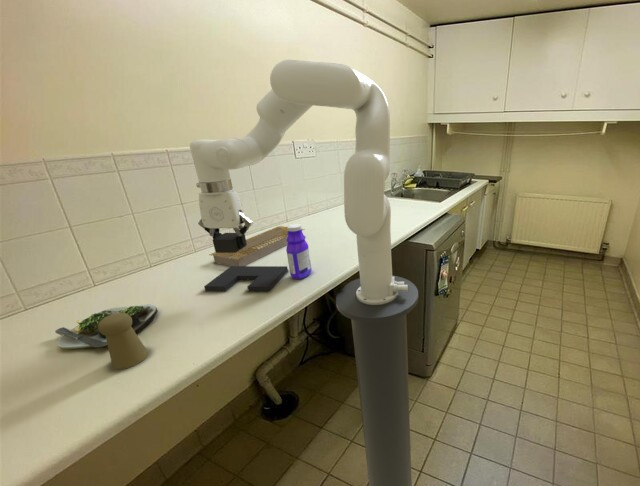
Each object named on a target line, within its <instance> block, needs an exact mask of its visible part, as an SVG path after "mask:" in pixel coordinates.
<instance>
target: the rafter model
mask: <svg viewBox="0 0 640 486" xmlns="http://www.w3.org/2000/svg"><path fill="white" fill-rule="evenodd" d="M287 227H288V226H284V225H283V226H282V225H277V227H274V228H271V229H268V230H267V231H264V232H261V233H259V234H256V235H253V236H252V237H249V238H246V243H247V245H246V246H245V247H244V248H242V249H241V250H239V251H238V252H236V253H216V252H215V251H214V252H212V253H209V254H208V256H211V257H213V261H214V263H215V264H220V265H223V266H229V267H231V266H248V265H249V264H251V263H253V262H255V261H257V260H259V259H261V258H263V257H265V256H267V255H269V254H272V253H274V252H275V251H277V250H279V249H282V248H283V247H285V246H286V247H287V244H288V242H287V238H288V228H287ZM302 231H305V228H302Z"/></svg>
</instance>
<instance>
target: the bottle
mask: <svg viewBox="0 0 640 486" xmlns="http://www.w3.org/2000/svg"><path fill="white" fill-rule="evenodd" d="M286 227H287V228H288V235H287V236H288V238H287V242H288V244H287V245H286V249H285V250H286V257H287V263H288V270H289V274H290V277H291V278H293V279H296V280H297V279H298V280H300V279H305V278H306V277H308V276H309V275H310V274H311V273H312V263H311V262H312V261H311V256H310V248H309V244H308V242H307V240H306V236H305V235H304V233H303V228H302V225H301V224H299V223H293V224H292V223H291V224H289V225H287V226H286Z"/></svg>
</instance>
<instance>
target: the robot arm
mask: <svg viewBox="0 0 640 486" xmlns="http://www.w3.org/2000/svg"><path fill="white" fill-rule="evenodd" d="M269 82H270V87H271V89H270V90H269V91H268V92H266V94H265V95H264V96H263V97H262V98H261V99H260V100H259V101H258V103H256V105H255V106H256V112H257V115H258V117H259V119H258V121H257V123H256V124H255V126H254V127H253V128H252V129H250V131H249V132H248V133H247V134H246V135H244V136H243V137H232V138H224V139H214V138H213V139H211V138H210V139H208V138H207V139H195V140H192V141H191V142H190V143H189V150H190V154H191V157H192V160H193V161H192V162H193V164H194V169H195V172H196V176H197V179H198V182H197V183H196V187H197V188H198V189H200V191H201V192H199V193H198V206H199V212H200V216H201V218H200V220H199V221H198V226H199V227H201V228H202V229H203V230H204V231H205V232H207V233H208V234H209V236H210V237H212V240H213V239H215V238H217V237H218V236H220V235H222V234H223V233H221V232H220V230H221V229H233V231H234V233H236V234H237V236H236V240H237V244H238V248H239V249H242V248H244V247H245V246H246V240H247V238H246V234H247V231H248V230H249V229H250V228H251V226H252V225H253V224H254V221H253V220H251V218H249V217H248V216H247V215H246V214H245V213H244V209H243V206H242V202H241V199H240V196H239V195H238V193H237V191H236V190H235V189H234V186H233V182H232V178H231V173H230V170H239V169H243V168H245V167H246V168H247V167H249V166H254V165H257V164H258V163H261V161H263V160H264V159H265V158H267V156H268V155H269V154H271V153H272V152H273V151H274V150H275V149H276V148H277V147H278V145H280V143H281V140H283V138H284V136H285V134H286V132H287V131H288V130H289V129H290V128H291V127H292V126H293V125H294V124H295V123H296V122H297V121H298V120H299V119H300V118H301V117H302V116H303V115H304V114H305V113H307V112H308V111H309V110H310V109H311V108H312V107H313V106H316V107H326V108H337V109H346V110H352V111H354V113H355V117H356V119H355V128H354V129H355V133H354V135H355V151H354V153H353V154H352V155H351V156H350V157H349V158H348V160H347V162H346V164H345V167H344V172H343V201H344V202H343V204H344V205H343V206H344V207H343V208H344V209H343V210H344V211H343V212H344V213H343V214H344V220H345V223H346V225H347V228H349V230H350V231H351V232H352V233H353V234H355V235H356V248H357V249H356V250H357V251H356V252H357V260H358V271H359V278H360V284H361V286H360V287H359V288H358V289H357V291H356V297H357V299H358V300H359V301H360V302H362V303H364V304H368V305H381V304H386V303H388V302H391V301H393V300H394V299H395V298H396V297H397V296H398V291H408V285H404V282H396V281H395V278H394V277H392V276H393V262H392V237H391V235H392V234H391V219H392V218H391V217H392V215H391V213H392V212H391V211H392V210H391V203H390V200H389V198H388V196H387V195H386V194H385V185H386V180H387V179H388V177H389V175H390V170H391V169H390V168H391V167H390V166H391V165H390V149H391V114H390V112H391V111H390V106H389V103H388V102H389V101H388V100H387V97H386V95H385V93H384V91H383V90H382V88H380V86H379V85H378V84H377V83H376V82H375V81H374V80H373V79H370V78H369V77H368V76H366V75H365V74H363V73H362V72H360V71H359V70H356V69H354V68H353V67H351V66H349V65H347V64H342V63H336V62H324V61H323V62H322V61H310V60H300V59H299V60H298V59H284V60H281V61H279V62H278V63H276V64H275V65H274V66H273V68H272V69H271V72H270V77H269ZM243 224H244V225H243Z"/></svg>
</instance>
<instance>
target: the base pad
mask: <svg viewBox="0 0 640 486" xmlns="http://www.w3.org/2000/svg"><path fill="white" fill-rule="evenodd" d="M287 273H289V267H288V266H287V265H285V266H281V265H279V266H278V265H275V266H273V265H269V266H267V265H266V266H265V265H261V266H260V265H249V266H248V265H245V266H229V267H228V268H227V269H225V270H223V272H222V273H220V274H219V275H217V276H216V277H214V278H213V279H212V280H211V281H209V282H208V283H206V284H205V285H204V290H205V292H227V291H228V290H229V289H230V288H232V287H233V286H234V285H235V284H236V283H238V282H239V281H251V282H250V283H249V284H248V285H247V291H248V293H252V292H253V293H255V292H256V293H265V292H266V293H269V292H270V291H271V290H272V289H273V288H274V287H275V286H276V285H277V284H278V283H279V282H280V280H281V279H283V278H284V276H285V275H286V274H287Z"/></svg>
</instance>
